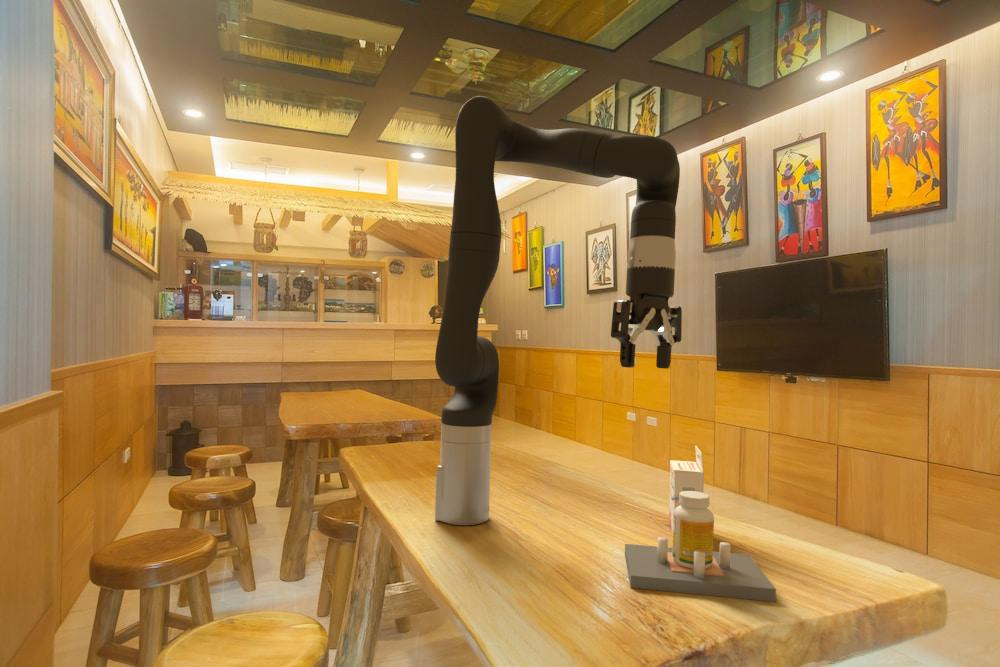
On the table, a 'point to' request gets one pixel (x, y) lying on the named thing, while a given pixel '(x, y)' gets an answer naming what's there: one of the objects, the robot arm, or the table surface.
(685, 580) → the pin tray
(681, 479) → the ink cartridge box
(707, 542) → the supplement bottle
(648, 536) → the table surface
